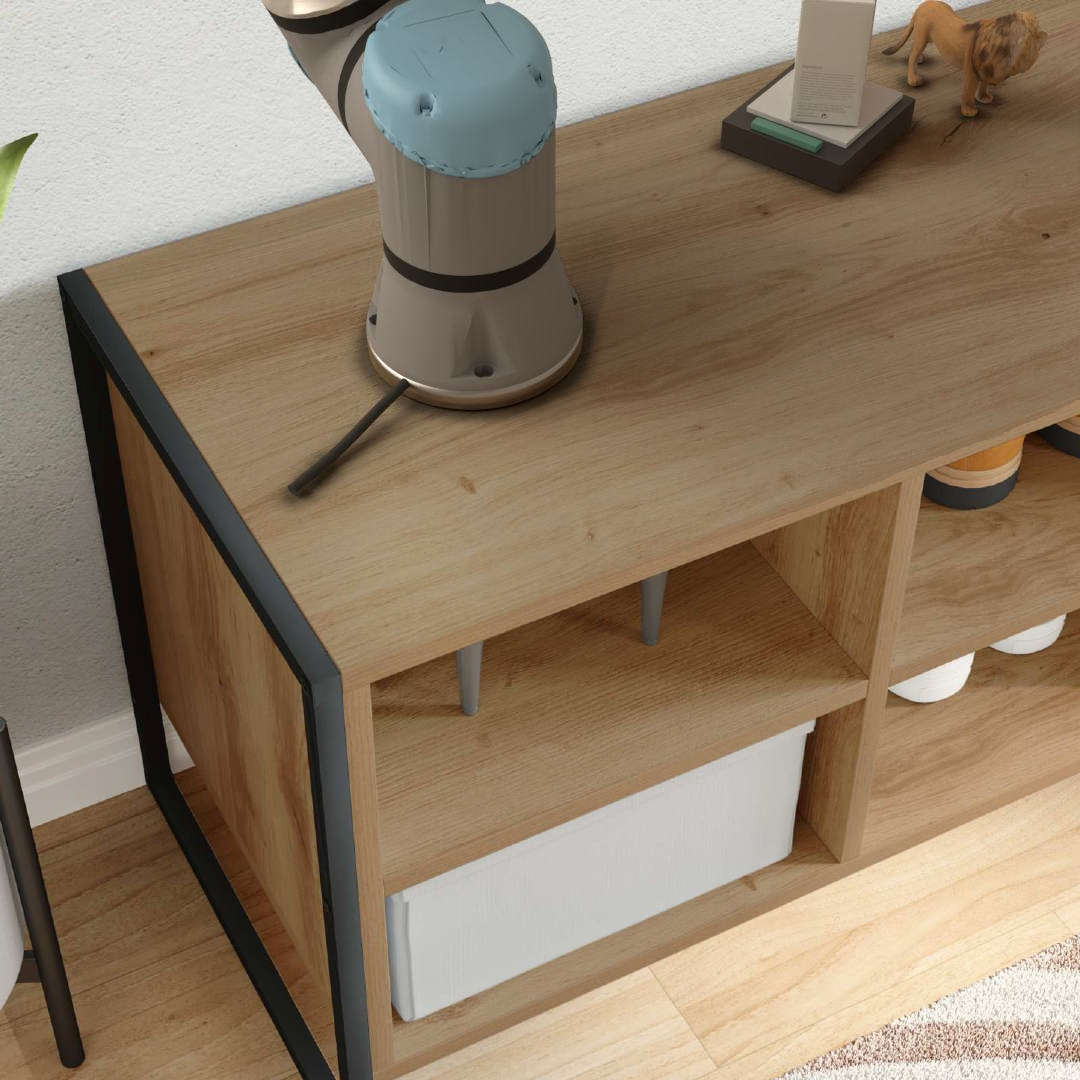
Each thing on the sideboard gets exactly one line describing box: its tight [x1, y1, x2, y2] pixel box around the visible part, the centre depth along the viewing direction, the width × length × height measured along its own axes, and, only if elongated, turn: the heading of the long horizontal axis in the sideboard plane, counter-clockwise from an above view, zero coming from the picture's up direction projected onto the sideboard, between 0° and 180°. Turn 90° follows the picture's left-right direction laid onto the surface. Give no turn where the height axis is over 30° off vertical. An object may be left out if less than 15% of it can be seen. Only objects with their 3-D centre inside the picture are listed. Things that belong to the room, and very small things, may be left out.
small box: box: [790, 0, 878, 126], centre depth 124 cm, size 8×6×10 cm
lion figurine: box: [881, 0, 1049, 118], centre depth 131 cm, size 15×5×9 cm, turn 44°
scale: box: [719, 61, 917, 193], centre depth 128 cm, size 12×11×3 cm
